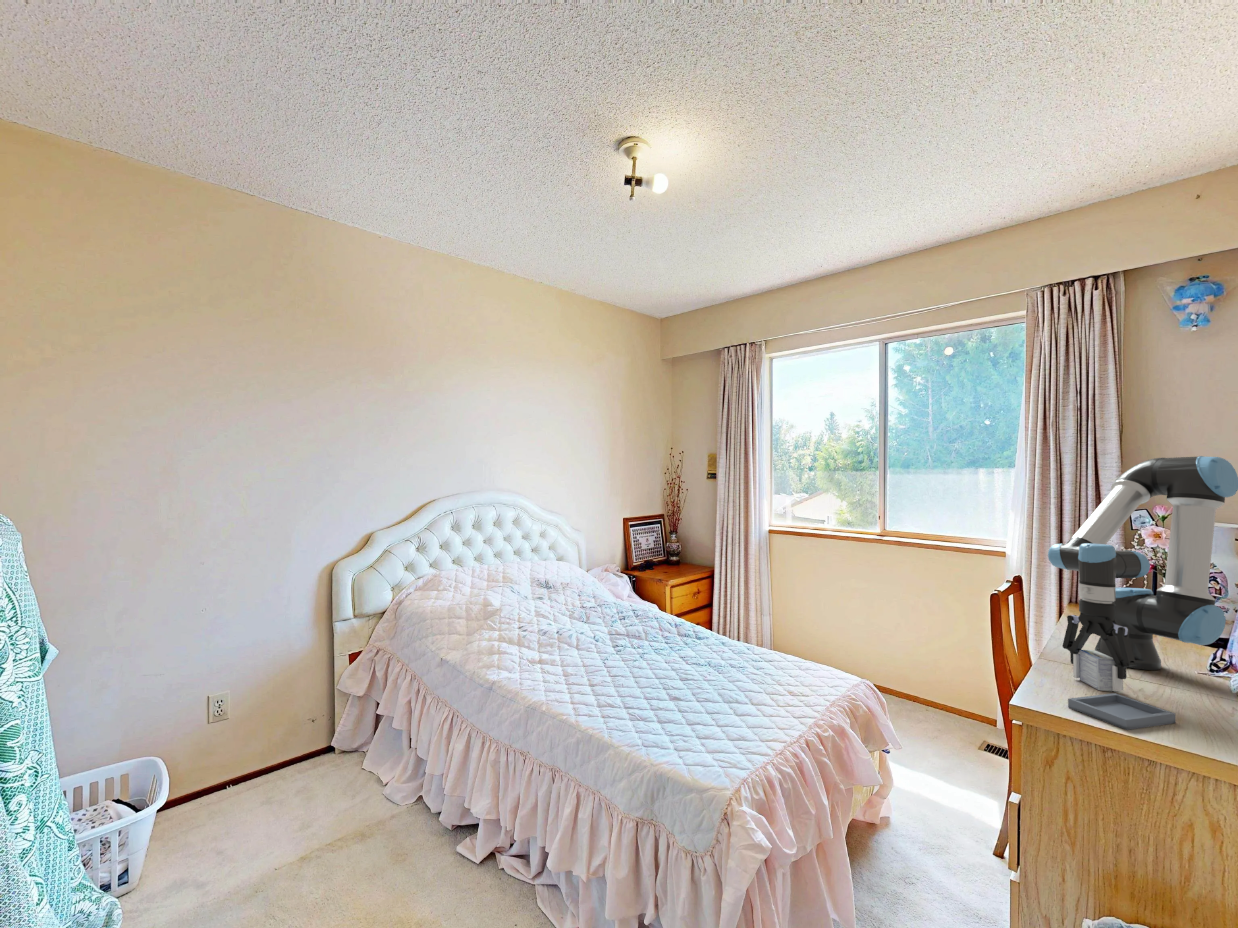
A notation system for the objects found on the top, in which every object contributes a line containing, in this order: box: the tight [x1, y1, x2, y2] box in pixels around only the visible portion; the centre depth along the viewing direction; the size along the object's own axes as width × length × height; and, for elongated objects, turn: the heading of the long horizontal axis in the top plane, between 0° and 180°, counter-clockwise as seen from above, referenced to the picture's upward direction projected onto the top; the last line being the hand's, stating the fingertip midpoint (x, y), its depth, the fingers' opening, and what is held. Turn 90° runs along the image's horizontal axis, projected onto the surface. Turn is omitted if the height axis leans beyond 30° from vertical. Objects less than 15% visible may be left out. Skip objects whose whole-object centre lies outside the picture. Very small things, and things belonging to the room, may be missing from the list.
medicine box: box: [1079, 649, 1117, 693], centre depth 145 cm, size 8×4×9 cm, turn 168°
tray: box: [1067, 692, 1177, 731], centre depth 126 cm, size 16×12×2 cm
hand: (1097, 683), depth 145 cm, fingers closed on medicine box, 9 cm apart
